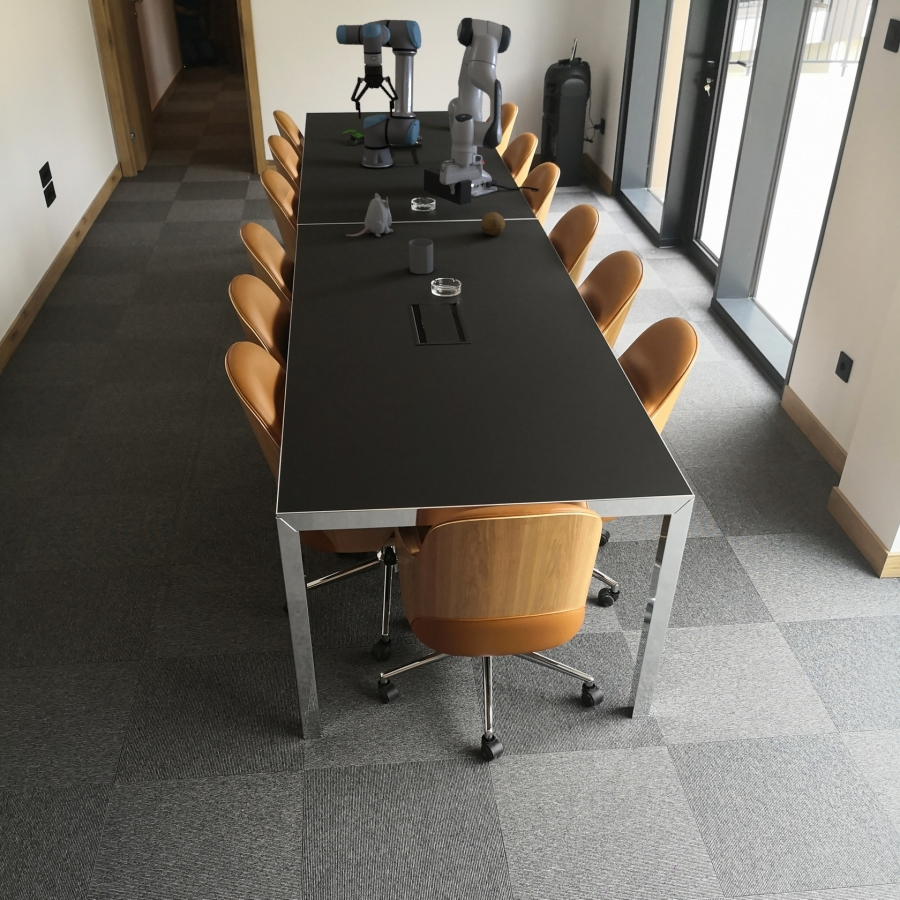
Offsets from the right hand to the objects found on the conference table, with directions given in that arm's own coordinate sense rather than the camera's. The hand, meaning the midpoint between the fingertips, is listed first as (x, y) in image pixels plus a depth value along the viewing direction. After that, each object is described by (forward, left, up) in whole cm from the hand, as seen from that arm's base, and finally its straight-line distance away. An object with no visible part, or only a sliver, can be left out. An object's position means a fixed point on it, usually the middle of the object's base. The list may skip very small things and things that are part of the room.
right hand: (460, 192), depth 355 cm
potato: (+1, +26, -10) cm, 28 cm away
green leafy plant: (-25, -132, -10) cm, 135 cm away
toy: (+44, +4, -10) cm, 46 cm away
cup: (+45, +45, -10) cm, 64 cm away
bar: (+1, -8, -4) cm, 9 cm away
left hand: (+12, -50, +21) cm, 56 cm away
